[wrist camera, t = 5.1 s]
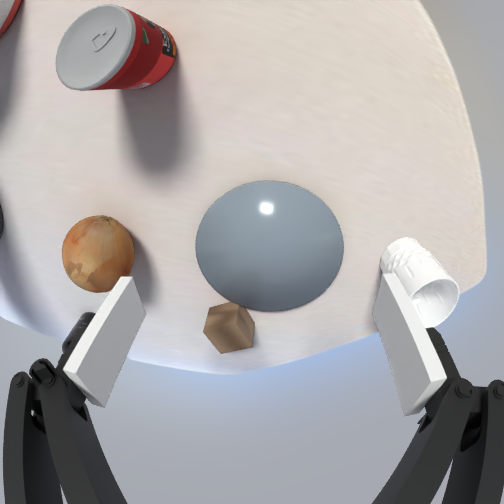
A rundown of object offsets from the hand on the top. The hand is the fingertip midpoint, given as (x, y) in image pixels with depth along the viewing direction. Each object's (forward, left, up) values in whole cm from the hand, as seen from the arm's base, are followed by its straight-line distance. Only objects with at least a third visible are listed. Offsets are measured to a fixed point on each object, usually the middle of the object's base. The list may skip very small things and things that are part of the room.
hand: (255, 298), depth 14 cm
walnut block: (-6, -19, -19) cm, 28 cm away
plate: (0, -8, -19) cm, 21 cm away
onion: (-21, -5, -19) cm, 29 cm away
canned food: (-12, +17, -19) cm, 28 cm away
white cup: (+18, -10, -19) cm, 28 cm away
